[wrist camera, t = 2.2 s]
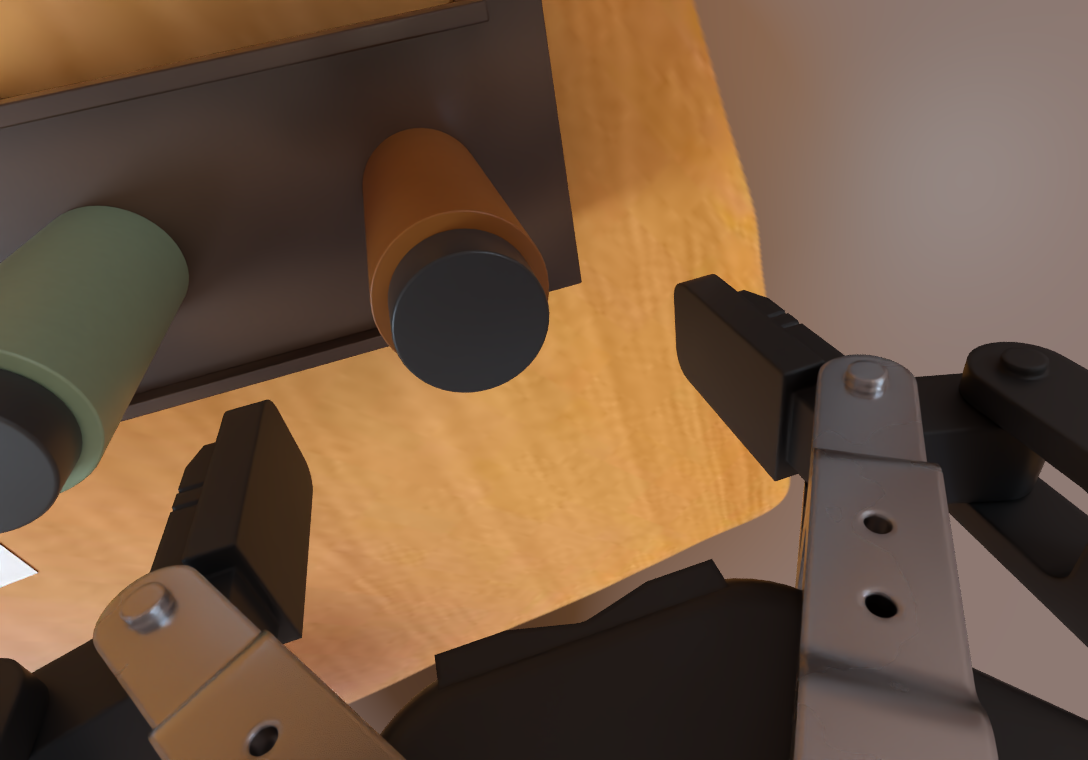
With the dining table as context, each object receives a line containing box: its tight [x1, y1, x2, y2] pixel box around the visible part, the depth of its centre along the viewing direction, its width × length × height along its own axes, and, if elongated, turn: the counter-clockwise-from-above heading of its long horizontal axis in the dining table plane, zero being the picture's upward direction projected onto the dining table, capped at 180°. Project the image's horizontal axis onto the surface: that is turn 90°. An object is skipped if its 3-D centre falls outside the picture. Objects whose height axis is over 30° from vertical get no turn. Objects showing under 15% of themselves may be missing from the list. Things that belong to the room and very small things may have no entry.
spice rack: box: [0, 0, 582, 422], centre depth 24 cm, size 11×22×8 cm, turn 100°
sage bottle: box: [0, 206, 189, 533], centre depth 17 cm, size 4×4×11 cm
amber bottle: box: [363, 128, 549, 392], centre depth 18 cm, size 4×4×11 cm
